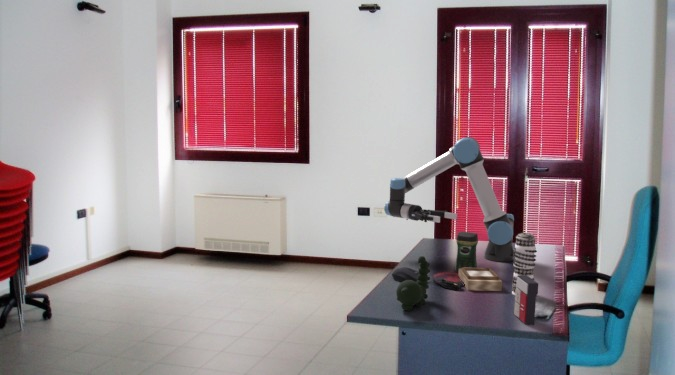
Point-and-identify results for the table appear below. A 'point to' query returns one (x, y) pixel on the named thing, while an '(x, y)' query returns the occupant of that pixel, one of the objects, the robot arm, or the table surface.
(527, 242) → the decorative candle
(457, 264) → the coffee jar
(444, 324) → the table surface
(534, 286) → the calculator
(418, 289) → the toy figurine
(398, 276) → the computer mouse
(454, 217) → the robot arm
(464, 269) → the light brown wooden box
